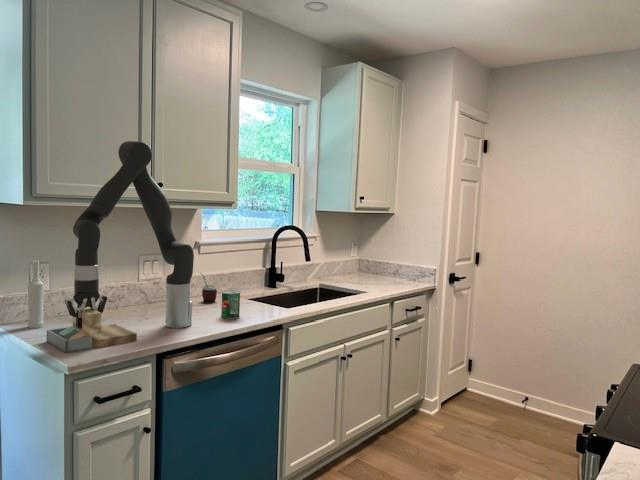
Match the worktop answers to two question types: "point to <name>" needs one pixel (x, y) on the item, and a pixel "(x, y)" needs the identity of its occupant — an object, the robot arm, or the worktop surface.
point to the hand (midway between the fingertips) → (86, 326)
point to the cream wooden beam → (89, 321)
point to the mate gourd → (209, 292)
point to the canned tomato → (230, 304)
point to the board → (112, 336)
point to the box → (68, 341)
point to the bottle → (35, 299)
